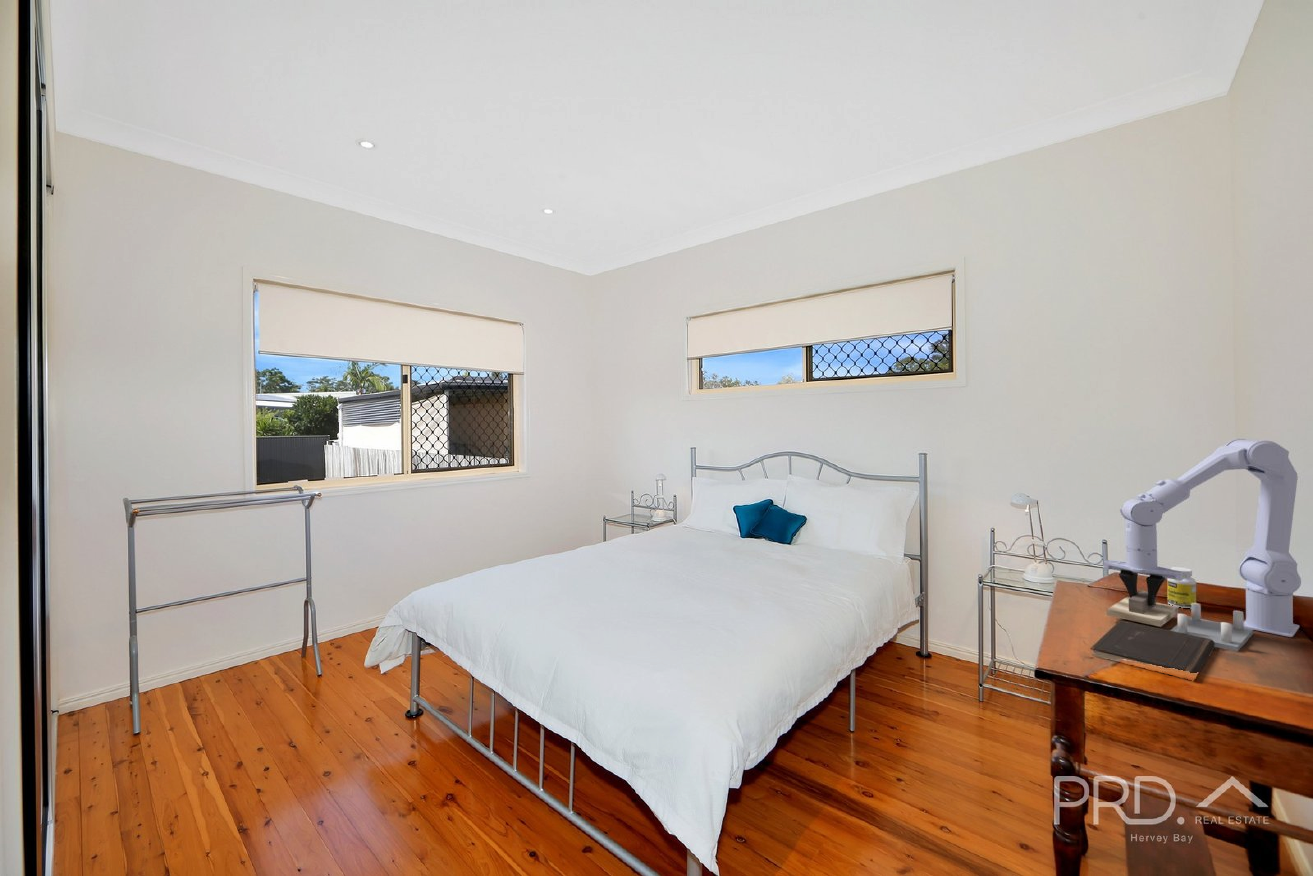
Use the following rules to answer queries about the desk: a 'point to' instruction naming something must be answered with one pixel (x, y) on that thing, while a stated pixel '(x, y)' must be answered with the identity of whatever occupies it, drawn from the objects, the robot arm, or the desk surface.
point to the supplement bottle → (1182, 589)
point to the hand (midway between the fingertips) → (1142, 603)
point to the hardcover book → (1154, 647)
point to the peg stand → (1215, 629)
